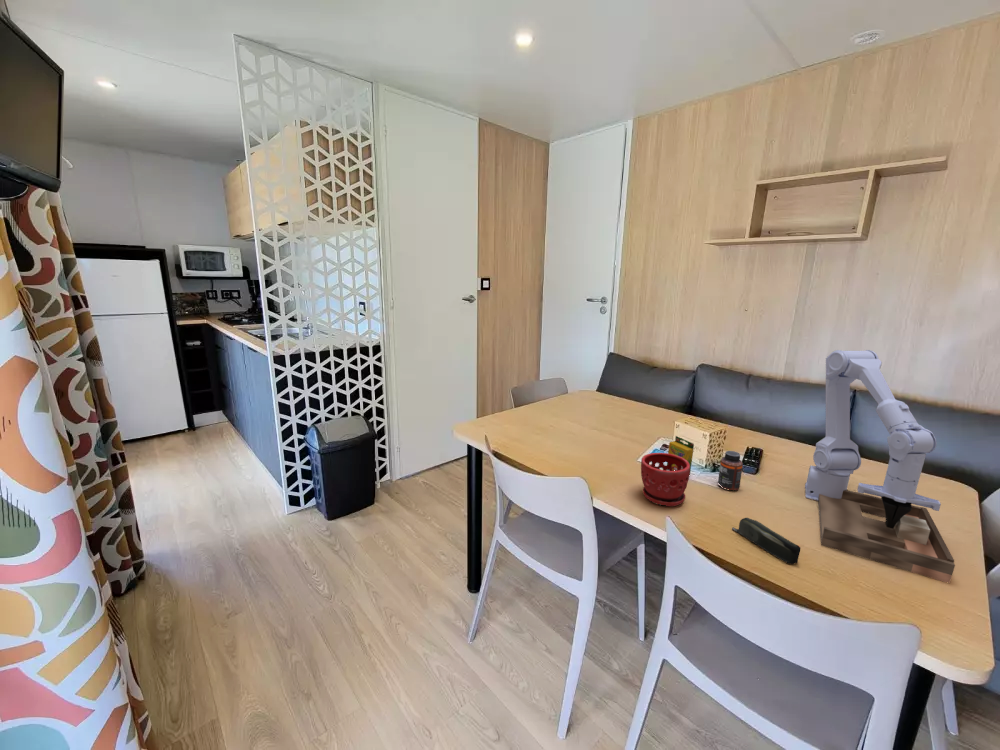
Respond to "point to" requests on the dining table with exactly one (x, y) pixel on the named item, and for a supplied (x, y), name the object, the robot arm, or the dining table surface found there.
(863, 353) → the robot arm
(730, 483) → the supplement bottle
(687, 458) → the crayon box
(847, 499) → the frame
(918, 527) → the block
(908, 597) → the dining table surface
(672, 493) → the plant pot
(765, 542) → the mobile phone
